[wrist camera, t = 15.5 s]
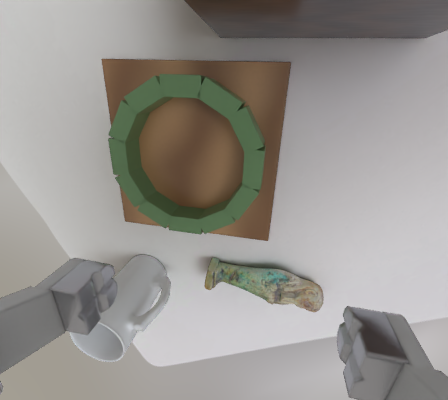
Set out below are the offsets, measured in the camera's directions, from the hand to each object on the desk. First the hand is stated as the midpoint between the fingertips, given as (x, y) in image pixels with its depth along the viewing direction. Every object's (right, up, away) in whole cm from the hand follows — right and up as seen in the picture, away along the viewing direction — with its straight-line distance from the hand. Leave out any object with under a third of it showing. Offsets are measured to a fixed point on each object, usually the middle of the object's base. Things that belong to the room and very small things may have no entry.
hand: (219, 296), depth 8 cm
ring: (-4, +8, +20) cm, 22 cm away
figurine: (+6, -7, +25) cm, 27 cm away
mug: (-10, -7, +29) cm, 31 cm away
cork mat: (-4, +9, +20) cm, 22 cm away
